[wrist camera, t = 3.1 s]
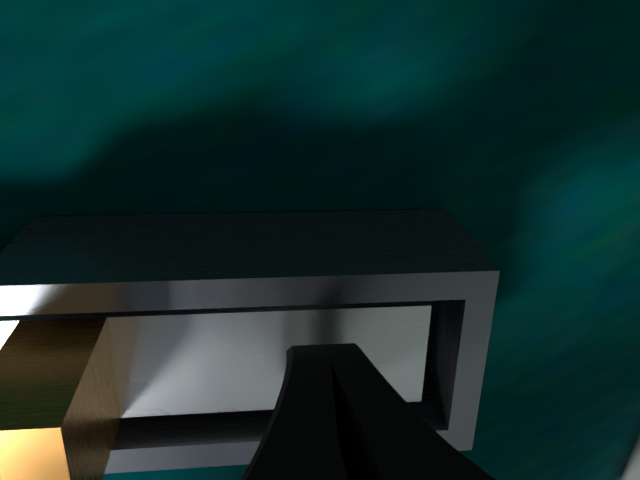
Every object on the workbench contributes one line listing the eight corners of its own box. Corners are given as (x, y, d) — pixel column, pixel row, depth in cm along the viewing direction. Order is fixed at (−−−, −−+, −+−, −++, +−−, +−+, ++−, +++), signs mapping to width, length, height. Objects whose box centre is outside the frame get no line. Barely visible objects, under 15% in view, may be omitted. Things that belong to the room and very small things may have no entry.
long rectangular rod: (400, 350, 15) (468, 516, 10) (-115, 372, 14) (-305, 576, 9) (407, 263, 14) (487, 404, 9) (-145, 279, 13) (-374, 451, 8)
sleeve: (429, 360, 16) (471, 450, 13) (62, 378, 15) (14, 479, 12) (446, 208, 14) (499, 270, 11) (33, 216, 13) (-32, 287, 10)
